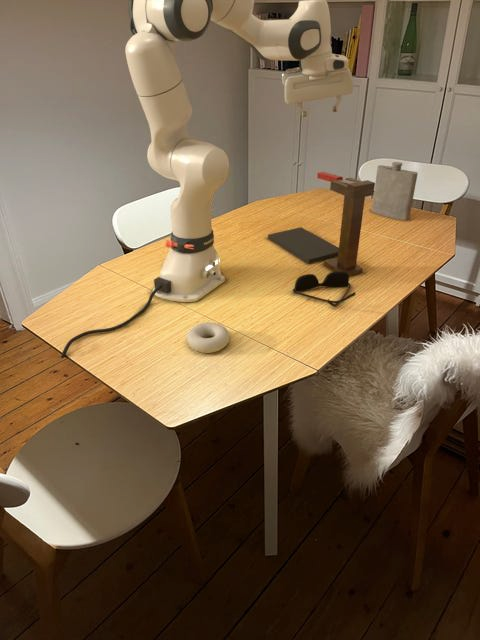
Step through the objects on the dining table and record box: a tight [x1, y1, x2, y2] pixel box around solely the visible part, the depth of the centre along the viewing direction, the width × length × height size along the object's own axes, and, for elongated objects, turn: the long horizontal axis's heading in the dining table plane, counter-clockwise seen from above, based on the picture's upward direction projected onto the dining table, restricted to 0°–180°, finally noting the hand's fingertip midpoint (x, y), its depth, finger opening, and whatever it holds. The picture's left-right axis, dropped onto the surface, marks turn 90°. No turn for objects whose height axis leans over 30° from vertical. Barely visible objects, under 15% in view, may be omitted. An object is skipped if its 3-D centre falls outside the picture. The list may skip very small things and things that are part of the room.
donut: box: [186, 321, 230, 354], centre depth 109 cm, size 10×4×10 cm
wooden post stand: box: [322, 177, 376, 277], centre depth 135 cm, size 10×7×27 cm
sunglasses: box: [292, 271, 356, 307], centre depth 125 cm, size 17×14×5 cm
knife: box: [317, 171, 355, 184], centre depth 133 cm, size 18×3×2 cm, turn 29°
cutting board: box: [267, 226, 339, 265], centre depth 157 cm, size 24×14×2 cm, turn 29°
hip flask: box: [371, 161, 419, 222], centre depth 176 cm, size 16×4×20 cm, turn 44°
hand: (319, 113), depth 143 cm, fingers open, 8 cm apart
